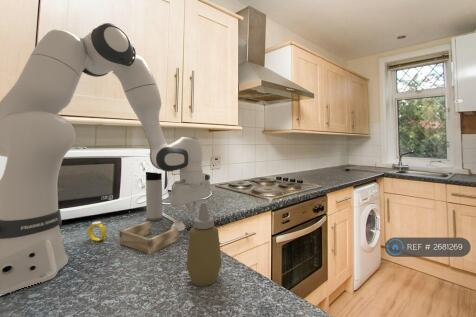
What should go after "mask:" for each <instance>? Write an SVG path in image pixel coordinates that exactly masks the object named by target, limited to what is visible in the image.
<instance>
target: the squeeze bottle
mask: <svg viewBox="0 0 476 317" xmlns="http://www.w3.org/2000/svg"><path fill="white" fill-rule="evenodd" d="M188 234H189V235H188V236H189V237H188V243H187V244H188V245H187V256H186V269H187V270H186V271H187V273H188V275H189V276H190V277H189V278H190V281H191V282H192V284H194V285H196V286H201V287H203V286H204V287H206V286H209V285H212V284H214V283H215V282H216V281H217V278H218V277H219V276H218V275H219V272H220V269H221V266H222V255H221V254H222V253H221V246H220V236H219V229H218V228H217V226H215V219H214V217H213V216H210V214H209V209H208V205H207V202H201V203H200V207H199V212H198V216H197V217H195V218H193V226H192V227H191V228H190V229H189V233H188Z"/></svg>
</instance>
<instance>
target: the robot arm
mask: <svg viewBox="0 0 476 317" xmlns="http://www.w3.org/2000/svg"><path fill="white" fill-rule="evenodd" d="M110 72H112V74H113V75H115V77H117V79H118V80H119V82H120V84H121V87H122V90H123V93H124V95H125V97H126V99H127V101H128V104H129V105H130V107H131V109H132V111H133V112H134V114H135V115H136V117H137V119H138V120H139V123H141V124H140V125H141V126H142V128H143V130H144V133H145V137H146V138H147V141H148V142H147V143H148V145H149V148H150V149H149V161H150V162H151V163H150V164H152V166H153V167H154V168H156V169H157V170H162V171H163V172H169V173H171V172H174V171H177V170H179V180H176V181H174V182H173V184H172V185H171V190H170V200H169V202H170V206H171V207H175V208H180V207H182V206H185V207H186V208H187V213H188V214H192V213H195V212H197V206H198V203H199V200H203V199H204V198H208V197H209V196H210V195H211V182H210V180H211V174H208V173H205V172H203V167H202V162H203V149H202V144H201V143H202V142H201V140H199V139H198V138H196V137H193V136H181V137H180V138H179V139H177V140H175V141H173V142H171V143H169V144H168V142H167V141H166V139H165V136H164V132H163V130H162V126H161V125H160V111H161V108H162V99H161V94H160V90H159V87H158V84H157V82H156V79H155V77H154V75H153V73H152V71H151V69H150V67H149V65H148V64H147V62H146V61H145V59H144V58H142V57H141V56H139V55H137V54H136V48H135V47H134V46H133V43H132V41H131V38H129V36H128V35H127V34H126V32H125V31H124V30H123V29H122V28H121V27H119V26H118V25H116V24H114V23H109V22H107V23H101V24H99V25H96V26H95V27H94V28H92V30H91V31H90V32H88V34H87V35H85V36H83V38H81V37H77V36H76V35H75V34H73V33H71V32H69V31H68V30H64V29H58V28H57V29H51V30H49V31H48V32H47V33H46V34H45V35H44V36H43V37H41V39H40V41H38V43H37V44H36V46H35V47H34V49H33V51H32V52H31V54H30V56H29V58H28V59H27V61H26V63H25V65H24V67H23V69H22V71H21V73H20V74H19V77H18V78H17V80H16V82H14V85H13V86H12V87H11V89H9V91H8V92H7V93H6V94H5V95H4V97H2V99H1V100H0V157H4V158H6V163H5V168H4V171H3V174H2V176H1V178H0V294H2V293H5V292H10V291H13V290H17V289H21V288H24V287H27V288H29V287H28V286H30V287H32V286H31V285H33V286H35V285H34V284H36V285H38V284H37V283H39V284H41V283H44V282H47V281H50V280H52V279H54V278H56V276H57V275H58V272H59V271H60V270H61V269H63V268H64V267H65V266H66V265H67V264H68V262H69V256H68V255H67V252H66V250H65V247H64V242H63V238H62V232H61V230H62V215H61V214H62V213H61V209H60V208H59V199H58V197H59V196H58V193H59V192H58V182H59V181H58V179H59V175H60V174H59V173H60V171H61V170H60V169H61V166H62V163H63V161H64V158H65V156H66V155H67V153H68V152H70V150H71V149H72V148H73V146H74V145H75V142H76V131H75V129H74V127H73V125H72V123H71V122H70V121H69V120H68V119H67V118H66V117H64V116H61V115H59V113H60V112H61V111H63V110H64V109H65V108H67V107H68V106H69V105H70V103H71V101H72V99H73V96H74V94H75V92H76V90H77V86H78V84H79V82H80V79H81V77H82V74H85V75H88V76H89V77H95V78H98V77H104V76H106V75H107V74H109V73H110ZM40 282H41V283H40ZM24 289H25V288H24ZM21 290H22V289H21Z"/></svg>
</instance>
